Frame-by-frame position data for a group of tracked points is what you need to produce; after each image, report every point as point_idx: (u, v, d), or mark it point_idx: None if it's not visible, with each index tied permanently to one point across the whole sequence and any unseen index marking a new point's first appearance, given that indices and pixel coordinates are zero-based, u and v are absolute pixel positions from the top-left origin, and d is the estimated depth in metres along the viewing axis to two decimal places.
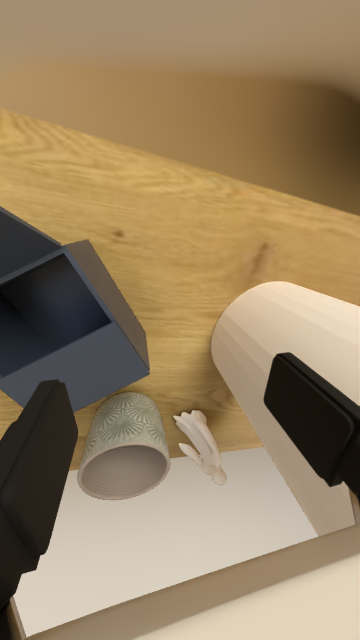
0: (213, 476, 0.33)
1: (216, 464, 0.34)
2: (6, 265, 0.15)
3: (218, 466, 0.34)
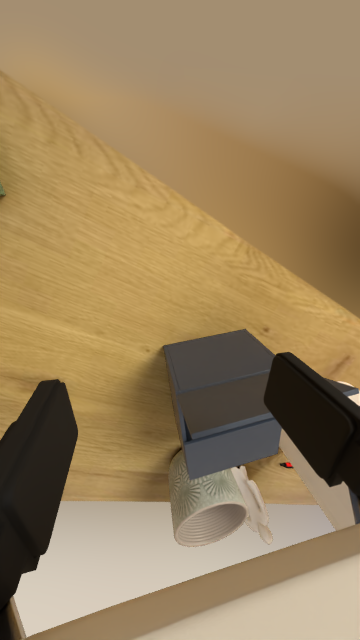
0: (263, 535, 0.38)
1: (265, 523, 0.39)
2: None
3: (266, 526, 0.39)
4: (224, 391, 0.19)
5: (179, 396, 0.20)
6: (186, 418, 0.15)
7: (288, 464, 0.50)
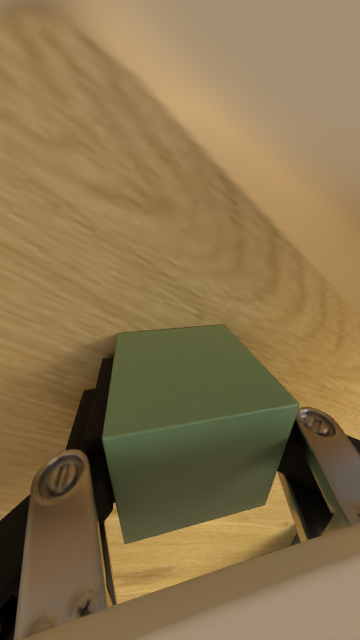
0: None
1: None
2: None
3: None
4: None
5: None
6: None
7: None
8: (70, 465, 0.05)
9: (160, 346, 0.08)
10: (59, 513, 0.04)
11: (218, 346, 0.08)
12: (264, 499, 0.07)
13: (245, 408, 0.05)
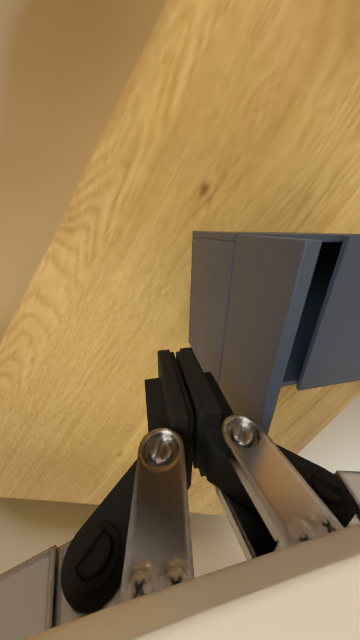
0: None
1: None
2: None
3: None
4: (226, 378, 0.13)
5: None
6: None
7: None
8: (167, 443, 0.06)
9: None
10: (158, 481, 0.05)
11: None
12: None
13: None
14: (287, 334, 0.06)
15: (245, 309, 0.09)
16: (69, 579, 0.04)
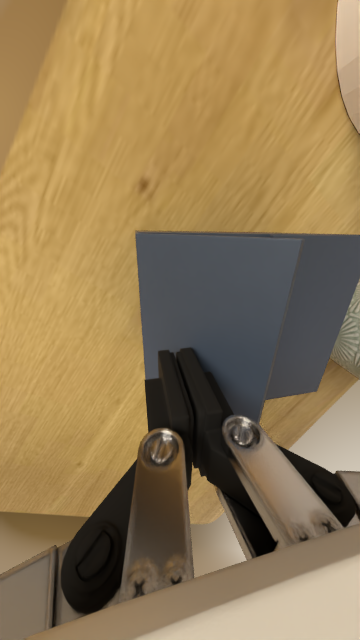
0: None
1: None
2: None
3: None
4: None
5: None
6: None
7: None
8: (167, 442, 0.06)
9: None
10: (158, 481, 0.05)
11: None
12: None
13: None
14: (282, 320, 0.07)
15: (192, 311, 0.09)
16: (69, 579, 0.04)
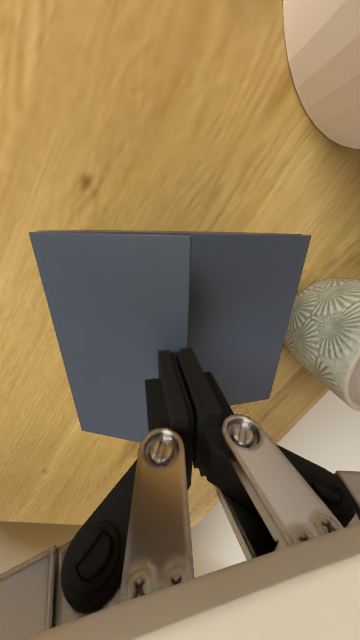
0: None
1: None
2: None
3: None
4: (99, 387, 0.12)
5: (89, 430, 0.14)
6: None
7: None
8: (167, 442, 0.06)
9: None
10: (158, 481, 0.05)
11: None
12: None
13: None
14: (188, 297, 0.09)
15: (112, 305, 0.10)
16: (69, 579, 0.04)
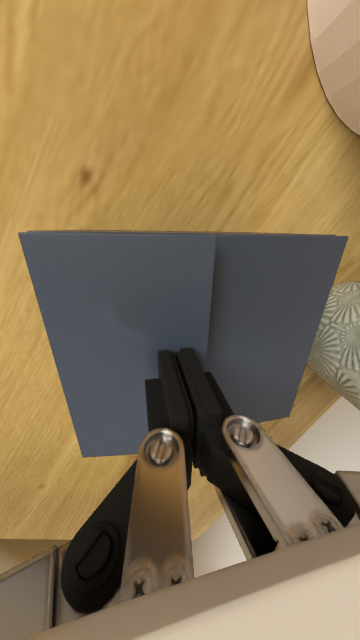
0: None
1: None
2: None
3: None
4: (107, 405, 0.11)
5: (92, 455, 0.13)
6: None
7: None
8: (167, 442, 0.06)
9: None
10: (158, 481, 0.05)
11: None
12: None
13: None
14: None
15: (128, 312, 0.09)
16: (69, 579, 0.04)
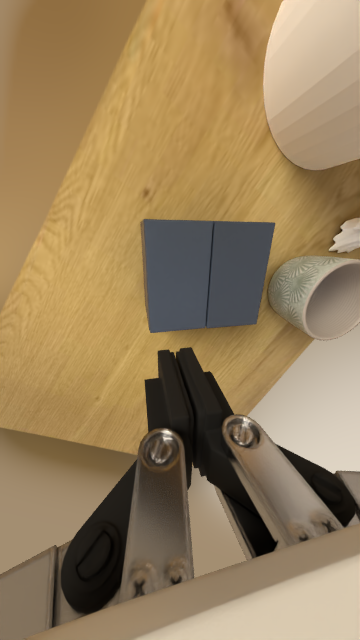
0: None
1: None
2: None
3: None
4: (166, 299, 0.24)
5: (155, 331, 0.26)
6: (189, 328, 0.27)
7: None
8: (167, 442, 0.06)
9: None
10: (158, 481, 0.05)
11: None
12: None
13: None
14: (210, 246, 0.23)
15: (180, 252, 0.22)
16: (69, 579, 0.04)
